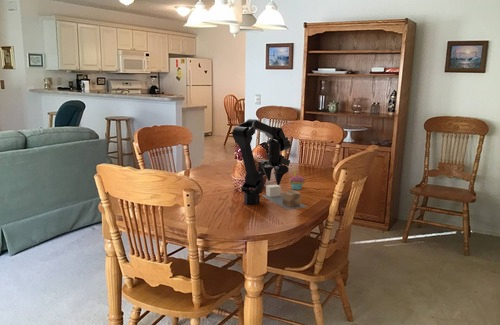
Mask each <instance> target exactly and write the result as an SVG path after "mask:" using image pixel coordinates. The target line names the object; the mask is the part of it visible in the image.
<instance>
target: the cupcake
mask: <svg viewBox="0 0 500 325" xmlns="http://www.w3.org/2000/svg"><path fill="white" fill-rule="evenodd" d="M288 182H289V183H290V185H291V189H292V190H294V191H297V190H298V191H299V190H302V187H303V185H305V183H306V180H305V178H304V177H303V176H302V175H301V176H300V175H297V174H296V169H295V168H293V176H291V177H290V178H289V180H288Z"/></svg>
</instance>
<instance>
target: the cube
mask: <svg viewBox="0 0 500 325" xmlns="http://www.w3.org/2000/svg"><path fill="white" fill-rule="evenodd" d="M282 194H283V204H284V205H286V206H288V207H295V206H300V203H301V200H302V199H301V198H302V197H301V195H302V194H301V192H298V191H297V190H295V189H292V190H286V191H285V190H284V191H283V192H282Z"/></svg>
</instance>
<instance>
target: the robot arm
mask: <svg viewBox="0 0 500 325" xmlns="http://www.w3.org/2000/svg"><path fill="white" fill-rule="evenodd" d="M256 131H258V132H260V133H263V134H264V135H265V136H266V137H267V138H268V140H267V141H266V144H267V145H268V153H266V156H267V157H268V159H263V160H260V162H259V166H260V167H261V169H262V171H263V172H264V175H265V177H266V179H267V181H271V179H272V178H271V177H272V171H273V170H274V172H273V175H274V179H275V183H276V184H277V185H279V186H280V184H281V181H282V178H283V176H284V175H285V174H287V173H289V170H290V169H289V165H290V164H291V160H290V159H288V158H285V156H283V155H282V154H281V152H284V151H288V150H289V149H291V147H292V143H291V141H290V140H289V138H288V136H286V134H285V132H284V130H283V128H282V127H278V126H271V125H269V124H266V123H264V122H262V121H259V120H258V119H255V118H249V119H247V120H246V121H244V122H242V123H240V124H238V125H236V126H234V128H233V130H232V132H231V134H232V138H233V140H234V143H236V144H237V145H238V146H239V149H240V153H241V157H242V160H243V163H244V164H243V165H244V169H245V171H246V174H245V175H244V182H243V184H242V186H241V188H240V191H241V192H243V193H244V197H243V198H244V200H243V202H244V203H243V204H244V205H245V206H246V207H247V208H249V207H248V206H256V205H258V204H260V200H261V199H260V197H261V195H260V194H262V192H263V187H264V182H265V181H264V180H265V178H264V175H263V172H262V171H258V170H257V165H256V162H255V157H254V154H253V148H252V145H251V144H252V141H253V135H255V134H256Z"/></svg>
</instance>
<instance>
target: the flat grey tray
mask: <svg viewBox="0 0 500 325" xmlns="http://www.w3.org/2000/svg"><path fill="white" fill-rule="evenodd" d="M265 186H266V190H265V192H266V193H265V194H263V195H260V197H261V196H262V197H263V198H265V199H267V200H268V201H271V202H272V203H275V204H276V205H278V206H280V207H282V208H284V209H286V210H295V209H302V208H308V205H305V204H304V203H302V202H300V206H295V207H288V206H286V205H284V204H283V193H281V189H282V188H281V185H280V184H279V185H277V183H276V184H267V185H265Z"/></svg>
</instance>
